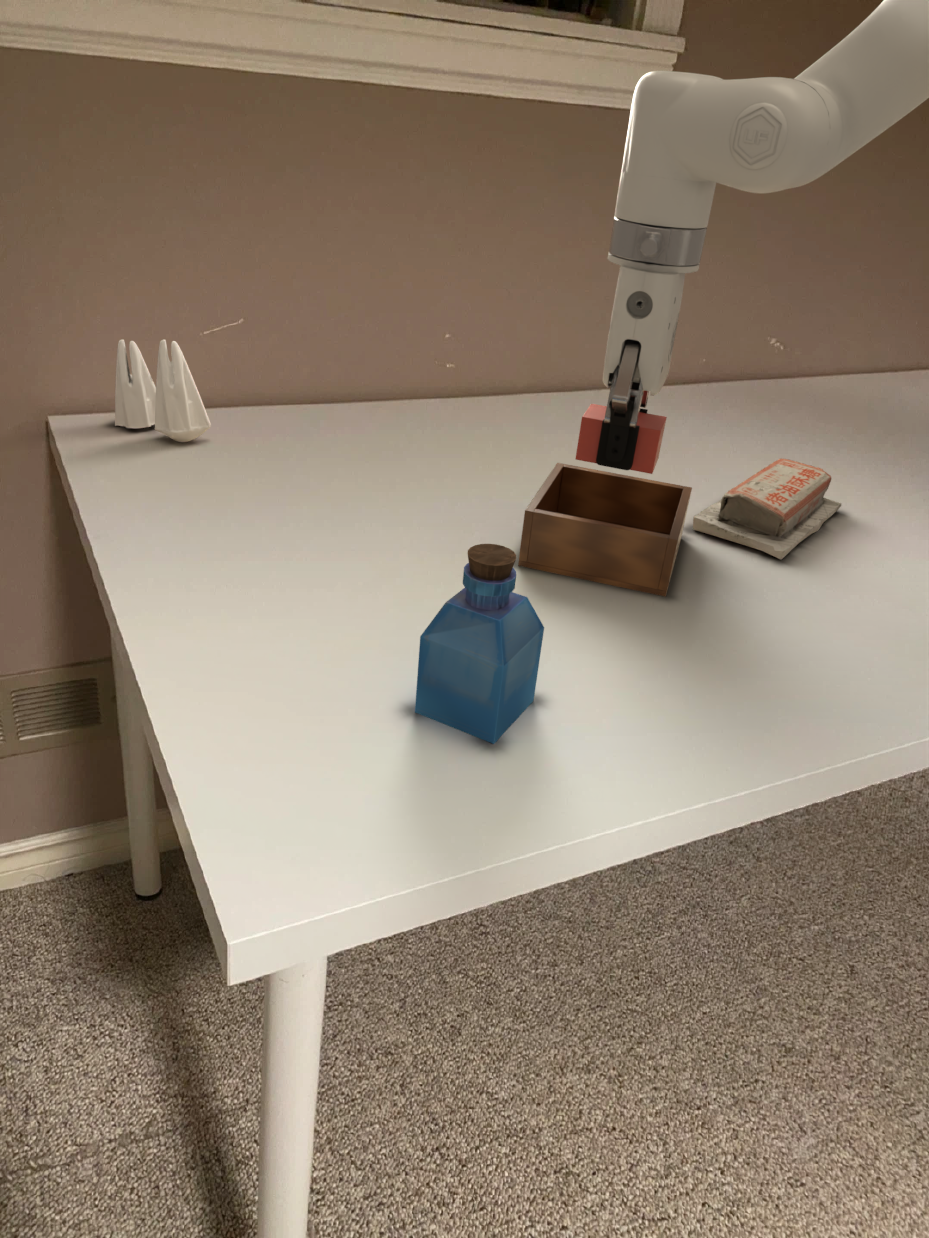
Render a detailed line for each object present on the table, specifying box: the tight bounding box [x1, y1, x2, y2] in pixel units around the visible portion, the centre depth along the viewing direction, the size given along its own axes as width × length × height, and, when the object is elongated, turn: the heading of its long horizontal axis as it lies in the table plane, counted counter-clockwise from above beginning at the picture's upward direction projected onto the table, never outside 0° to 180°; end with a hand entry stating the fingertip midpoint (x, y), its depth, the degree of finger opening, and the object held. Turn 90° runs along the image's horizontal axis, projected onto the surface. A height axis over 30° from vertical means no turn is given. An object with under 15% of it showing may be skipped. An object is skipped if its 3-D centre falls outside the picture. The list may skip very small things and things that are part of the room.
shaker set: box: [114, 338, 212, 443], centre depth 106 cm, size 12×4×11 cm, turn 59°
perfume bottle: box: [414, 543, 545, 745], centre depth 64 cm, size 6×6×12 cm
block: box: [575, 403, 668, 475], centre depth 86 cm, size 7×4×4 cm, turn 73°
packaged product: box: [692, 457, 842, 560], centre depth 100 cm, size 18×5×10 cm
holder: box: [517, 462, 693, 597], centre depth 90 cm, size 14×14×6 cm
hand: (618, 455), depth 86 cm, fingers closed on block, 4 cm apart
